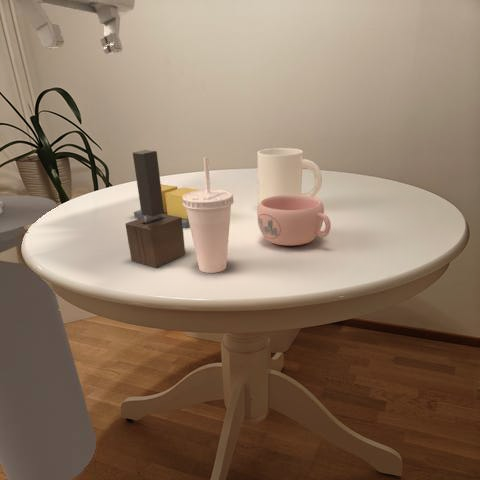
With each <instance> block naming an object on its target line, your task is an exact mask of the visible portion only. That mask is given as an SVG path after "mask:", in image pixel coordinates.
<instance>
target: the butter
mask: <svg viewBox="0 0 480 480" xmlns="http://www.w3.org/2000/svg"><path fill="white" fill-rule="evenodd" d="M199 190H200V189H198V188H190V187H186V186H185V187H184V186H183V187H181V188H178V186H176V185H171V184H170V185H168V184H162V183H161V191H162V199H163V208H164V213H166V212H167V214H168V215H171V216H176V217H181V218H183V219H188V215H187V210H186V207H184V206H183V196H184V195H185V194H187V193H190V192H193V191H199ZM162 214H163V213H162Z"/></svg>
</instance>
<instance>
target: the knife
mask: <svg viewBox="0 0 480 480" xmlns="http://www.w3.org/2000/svg"><path fill="white" fill-rule="evenodd" d="M132 159H133V165H134V172H135V173H134V174H135V179H136V186H137V192H138V199H139V204H140V205H139V206H140V210H141V213H142V215H147V216H144V219H145V225H147V224H150V223H153V222H155V221H158V220H161V219H163V218H162V213H164V208H163V199H162V191H161V184H162V182H161V175H160V168H159V160H158V152H157V150H149V149H144V150H143V149H142V150H139V151H134V152H132Z"/></svg>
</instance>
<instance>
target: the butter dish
mask: <svg viewBox="0 0 480 480" xmlns="http://www.w3.org/2000/svg"><path fill="white" fill-rule="evenodd" d="M163 214H166V215H168V214H167V212H166V213H163ZM133 216H134V218H136V219H140V218H143V217H144V216H147V215H142V213H141V209H139V210H136V211H133ZM182 225H183V229H184V228H185V229H187V228H190V224H189V220H188V219H183V218H182Z"/></svg>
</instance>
